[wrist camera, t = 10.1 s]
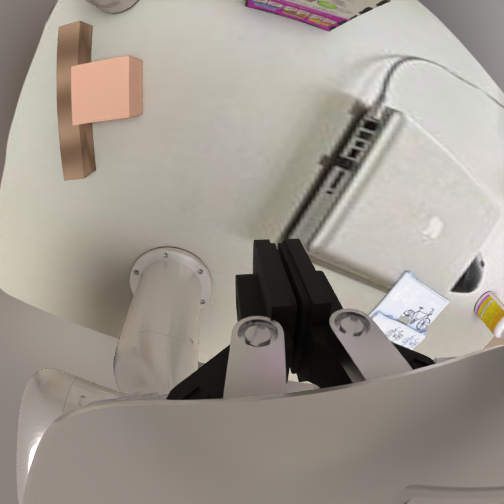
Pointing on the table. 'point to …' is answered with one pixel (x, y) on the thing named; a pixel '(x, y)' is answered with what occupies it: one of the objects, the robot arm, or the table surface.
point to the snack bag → (408, 310)
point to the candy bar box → (318, 10)
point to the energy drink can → (112, 5)
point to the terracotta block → (106, 90)
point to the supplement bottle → (491, 313)
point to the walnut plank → (71, 136)
